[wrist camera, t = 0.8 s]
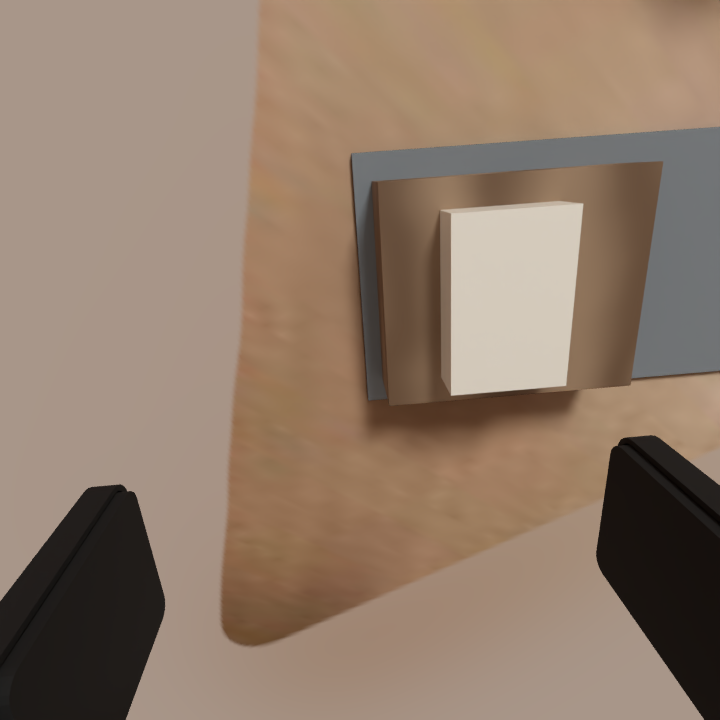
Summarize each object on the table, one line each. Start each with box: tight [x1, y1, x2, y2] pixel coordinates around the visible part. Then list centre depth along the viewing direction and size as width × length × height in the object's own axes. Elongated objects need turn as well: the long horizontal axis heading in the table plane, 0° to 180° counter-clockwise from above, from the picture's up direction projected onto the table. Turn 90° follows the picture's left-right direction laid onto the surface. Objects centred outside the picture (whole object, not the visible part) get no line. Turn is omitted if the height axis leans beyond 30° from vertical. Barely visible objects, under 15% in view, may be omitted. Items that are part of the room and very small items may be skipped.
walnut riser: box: [371, 161, 663, 406], centre depth 27 cm, size 14×12×4 cm
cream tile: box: [440, 201, 583, 396], centre depth 24 cm, size 6×9×2 cm, turn 4°
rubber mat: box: [351, 127, 720, 400], centre depth 29 cm, size 30×15×1 cm, turn 94°
